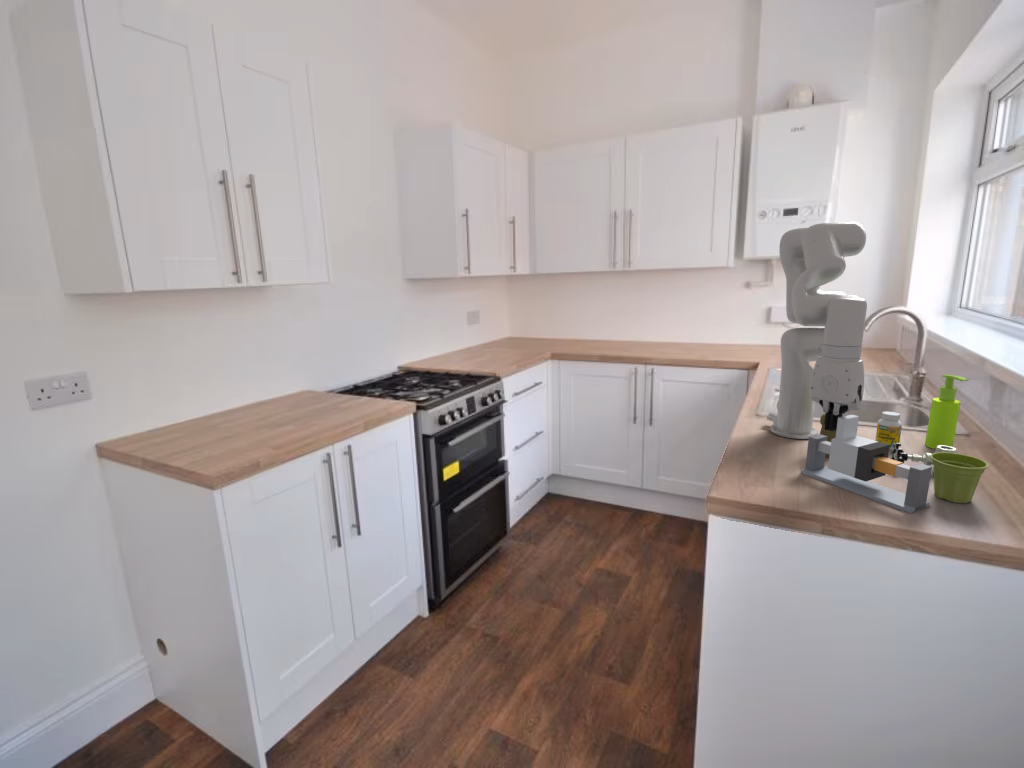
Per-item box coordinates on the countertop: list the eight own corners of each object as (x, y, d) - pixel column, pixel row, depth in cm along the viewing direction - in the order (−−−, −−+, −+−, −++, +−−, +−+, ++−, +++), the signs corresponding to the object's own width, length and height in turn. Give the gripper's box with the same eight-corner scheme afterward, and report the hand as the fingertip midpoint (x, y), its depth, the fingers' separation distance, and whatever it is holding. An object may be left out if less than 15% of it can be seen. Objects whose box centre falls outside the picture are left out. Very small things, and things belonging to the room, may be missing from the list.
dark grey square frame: (854, 477, 114) (858, 446, 112) (874, 471, 117) (878, 441, 115) (865, 481, 112) (869, 450, 110) (885, 475, 115) (889, 444, 113)
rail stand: (800, 472, 126) (804, 437, 124) (819, 467, 129) (823, 433, 127) (910, 513, 105) (916, 471, 103) (929, 505, 107) (936, 465, 106)
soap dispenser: (944, 452, 137) (957, 378, 132) (919, 444, 143) (930, 373, 139) (962, 450, 138) (975, 377, 133) (936, 442, 144) (948, 372, 140)
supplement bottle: (900, 446, 142) (905, 412, 140) (896, 451, 138) (902, 417, 136) (876, 442, 145) (881, 409, 143) (872, 447, 142) (877, 413, 140)
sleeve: (828, 468, 119) (834, 418, 117) (847, 463, 122) (854, 413, 120) (854, 477, 114) (861, 425, 111) (874, 471, 117) (881, 420, 114)
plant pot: (934, 504, 108) (940, 465, 106) (917, 486, 117) (923, 450, 115) (990, 510, 105) (998, 470, 103) (968, 491, 114) (975, 454, 112)
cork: (833, 459, 133) (838, 419, 131) (809, 453, 138) (814, 413, 136) (845, 455, 136) (850, 415, 134) (822, 448, 142) (826, 410, 139)
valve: (948, 470, 126) (888, 463, 131) (952, 444, 124) (892, 438, 129) (957, 480, 120) (895, 473, 125) (962, 453, 118) (899, 447, 123)
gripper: (799, 349, 122) (792, 423, 126) (864, 358, 109) (853, 441, 113) (820, 347, 125) (812, 419, 129) (886, 355, 112) (875, 436, 116)
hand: (832, 429), depth 121 cm, fingers closed
